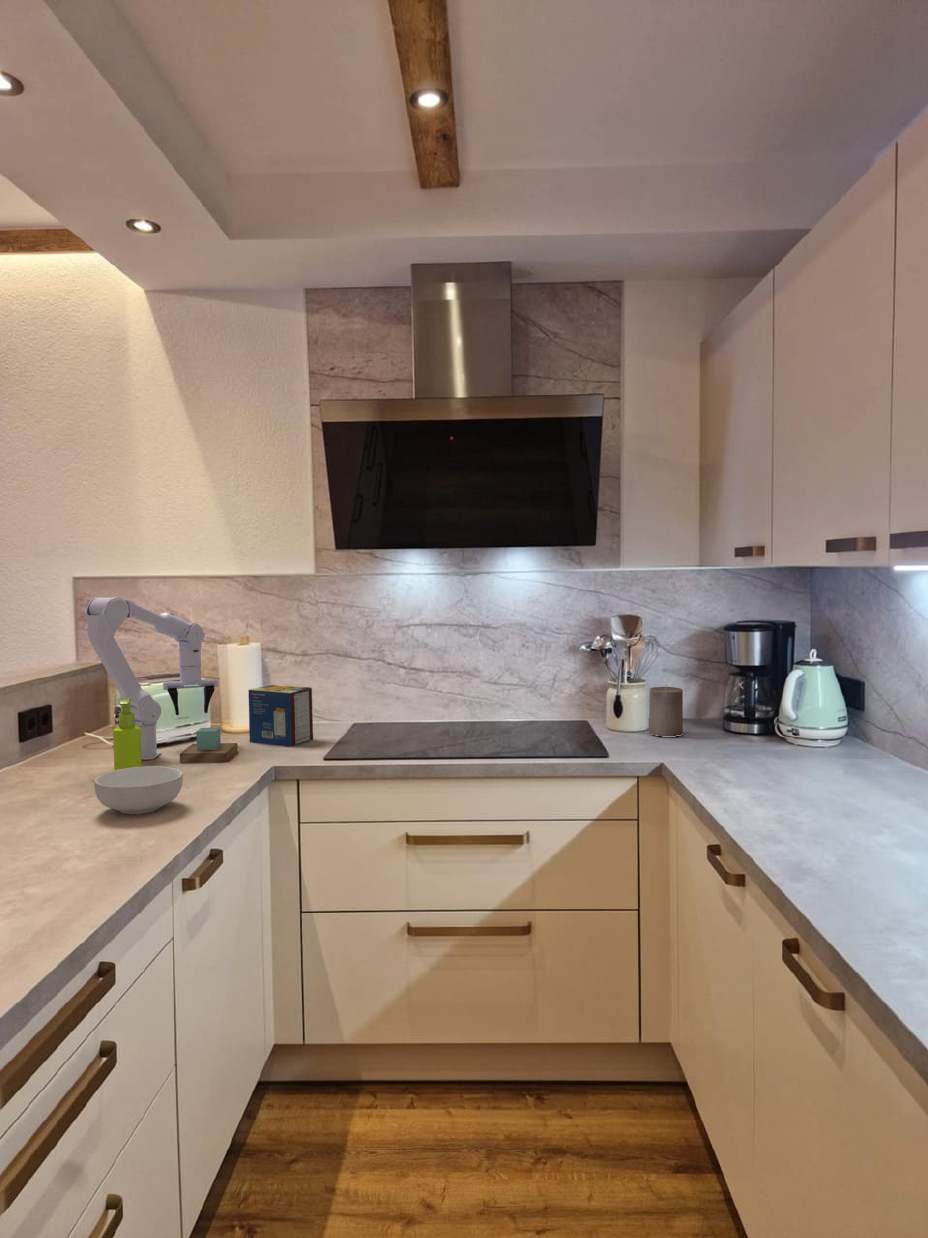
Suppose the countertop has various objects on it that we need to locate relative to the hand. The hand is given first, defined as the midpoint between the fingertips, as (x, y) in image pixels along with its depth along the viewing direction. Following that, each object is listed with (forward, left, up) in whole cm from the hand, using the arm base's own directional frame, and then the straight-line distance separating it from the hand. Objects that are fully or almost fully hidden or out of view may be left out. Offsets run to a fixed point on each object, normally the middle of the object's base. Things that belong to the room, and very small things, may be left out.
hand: (191, 713), depth 226 cm
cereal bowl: (+5, -61, -10) cm, 62 cm away
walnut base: (+8, -14, -10) cm, 19 cm away
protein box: (+24, +5, -10) cm, 26 cm away
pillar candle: (+137, +1, -10) cm, 137 cm away
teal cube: (+8, -14, -7) cm, 18 cm away
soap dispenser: (-4, -41, -10) cm, 42 cm away
